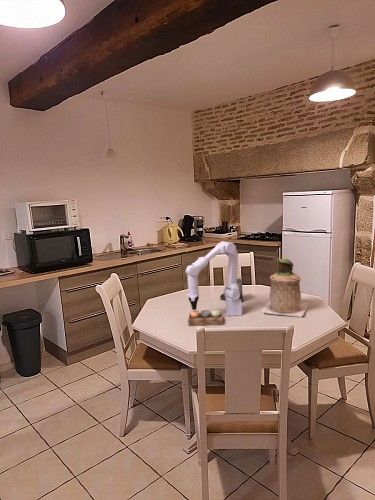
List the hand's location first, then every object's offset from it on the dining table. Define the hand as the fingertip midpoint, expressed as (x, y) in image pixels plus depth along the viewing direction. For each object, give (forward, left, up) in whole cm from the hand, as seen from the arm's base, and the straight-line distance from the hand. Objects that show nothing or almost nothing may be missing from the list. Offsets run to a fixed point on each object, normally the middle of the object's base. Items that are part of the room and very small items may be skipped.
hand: (194, 309), depth 201 cm
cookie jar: (-54, -16, -8) cm, 57 cm away
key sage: (-12, 0, -5) cm, 13 cm away
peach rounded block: (0, 0, -5) cm, 5 cm away
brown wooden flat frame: (-6, 0, -8) cm, 10 cm away
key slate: (-6, 0, -5) cm, 8 cm away
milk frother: (-23, -38, -8) cm, 45 cm away
